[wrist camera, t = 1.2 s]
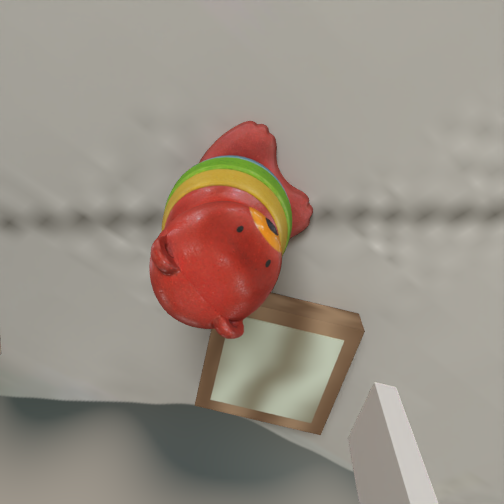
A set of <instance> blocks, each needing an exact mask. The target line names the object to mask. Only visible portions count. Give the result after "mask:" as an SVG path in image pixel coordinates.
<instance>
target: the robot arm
mask: <svg viewBox="0 0 504 504" xmlns="http://www.w3.org/2000/svg"><path fill="white" fill-rule="evenodd" d="M0 355H1V337H0ZM348 440H349V446H350V452H351V458H352V464H353V470H354V475H355V481H356V487H357V493H358V498H359V504H438V501H437V498H436V496H435V493H434V490H433V487H432V485H431V482H430V479H429V476H428V474H427V471H426V468H425V465H424V463H423V460H422V457H421V454H420V452H419V449H418V446H417V443H416V441H415V438H414V435H413V432H412V430H411V427H410V424H409V421H408V419H407V416H406V413H405V410H404V408H403V405H402V402H401V399H400V397H399V394H398V391H397V388H396V387H393V386H389V385H385V384H381V383H377V382H374V384H373V386H372V388H371V390H370V392H369V394H368V396H367V399H366V401H365V403H364V405H363V407H362V409H361V411H360V413H359V416H358V418H357V420H356V422H355V424H354V426H353V428H352V430H351V433H350V435H349V437H348Z"/></svg>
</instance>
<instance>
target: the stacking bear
mask: <svg viewBox="0 0 504 504" xmlns="http://www.w3.org/2000/svg"><path fill="white" fill-rule="evenodd" d="M276 149H277V146H276V140H275V137H274V136H273V135H272V134H270V133H269V130H268V127H267V126H266V125H264V124H256V123H255V122H253V121H247V122H243V123H241V124H239V125H237V126H236V127H234V128H232V129H231V130H229V131H228V132H226V133H225V134H224V135H222V136H221V137H220V138H219V139H218V140H217V141H216V142H215V143H214V144H213V145H212V146H211V147H210V148H209V149H208V150H207V152H206V153H205V154H204V156H203V157H202V159H201V160H200V162H199V163H198V164H197V165H195V166H193V167H192V168H191V169H189V170H188V171H187V172H186V173H184V174H183V175H182V176H181V178H180V179H179V180H178V181H177V183H176V184H175V186H174V188H173V189H172V191H171V193H170V195H169V198H168V200H167V203H166V206H165V211H164V216H163V221H162V232H161V233H160V235H159V236H158V238H157V239H156V240H155V241H154V243H153V245H152V247H151V257H150V279H151V284H152V287H153V291H154V293H155V296H156V298H157V299H158V301H159V303H160V304H161V306H162V307H163V309H164V310H165V311H166V312H167V313H168V314H169V315H171V316H172V317H173V318H175V319H176V320H178V321H180V322H182V323H184V324H186V325H189V326H192V327H197V328H203V329H216V331H217V333H218V334H220V335H221V336H222V337H224V338H227V339H235V338H239V337H241V336H242V335H243V333H244V325H243V320H244V319H245V318H246V317H248V316H249V315H250V314H252V313H253V312H254V311H256V310H257V309H258V308H259V307H260V306H261V305H262V304H263V302H264V301H265V300H266V298H267V297H268V296H269V294H270V293H271V291H272V289H273V287H274V286H275V284H276V281H277V279H278V276H279V273H280V269H281V263H282V256H283V254H284V252H285V250H286V247H287V245H288V242H289V239H290V238H292V237H293V236H295V235H297V234H299V233H300V232H302V231H303V230H304V229H306V228H307V226H308V225H309V223H310V217H311V215H312V213H313V208H312V206H311V205H310V204H309V198H308V196H307V195H306V194H305V193H303V192H302V191H300V190H298V189H296V188H295V187H293V186H292V185H290V184H289V183H288V182H287V181H286V180H285V179H284V177H283V176H282V174H281V172H280V170H279V168H278V165H277V159H276Z"/></svg>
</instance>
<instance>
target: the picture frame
mask: <svg viewBox="0 0 504 504" xmlns="http://www.w3.org/2000/svg"><path fill="white" fill-rule="evenodd" d="M243 325H244V333H243V335H242V336H241V337H239V338H235V339H227V338H224V337H222V336H221V335H220V334H218V333H217V331H216V329H211V334H210V338H209V343H208V347H207V352H206V356H205V361H204V365H203V370H202V374H201V379H200V384H199V388H198V393H197V397H196V402H195V406H199V407H203V408H207V409H212V410H216V411H220V412H224V413H229V414H233V415H237V416H241V417H246V418H250V419H254V420H258V421H263V422H267V423H271V424H275V425H280V426H284V427H288V428H293V429H297V430H301V431H305V432H310V433H314V434H318V435H321V433H322V430H323V428H324V426H325V423H326V421H327V419H328V416H329V414H330V412H331V409H332V407H333V404H334V402H335V400H336V397H337V395H338V393H339V390H340V388H341V386H342V383H343V381H344V379H345V376H346V374H347V372H348V369H349V367H350V365H351V362H352V360H353V358H354V355H355V353H356V351H357V348H358V346H359V344H360V341H361V339H362V336H363V334H364V332H365V331H364V328H363V325H362V322H361V319H360V316H359V314H358V313H353V312H349V311H345V310H341V309H337V308H333V307H328V306H324V305H320V304H316V303H312V302H308V301H304V300H299V299H295V298H291V297H287V296H283V295H279V294H274V293H270V294H269V296H268V297H267V298H266V300H265V301H264V302H263V304H262V305H261V306H260V307H259V308H258V309H257V310H256V311H254V312H253V313H252V314H250V315H249V316H248V317H246V318H245V319H244V320H243Z"/></svg>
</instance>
